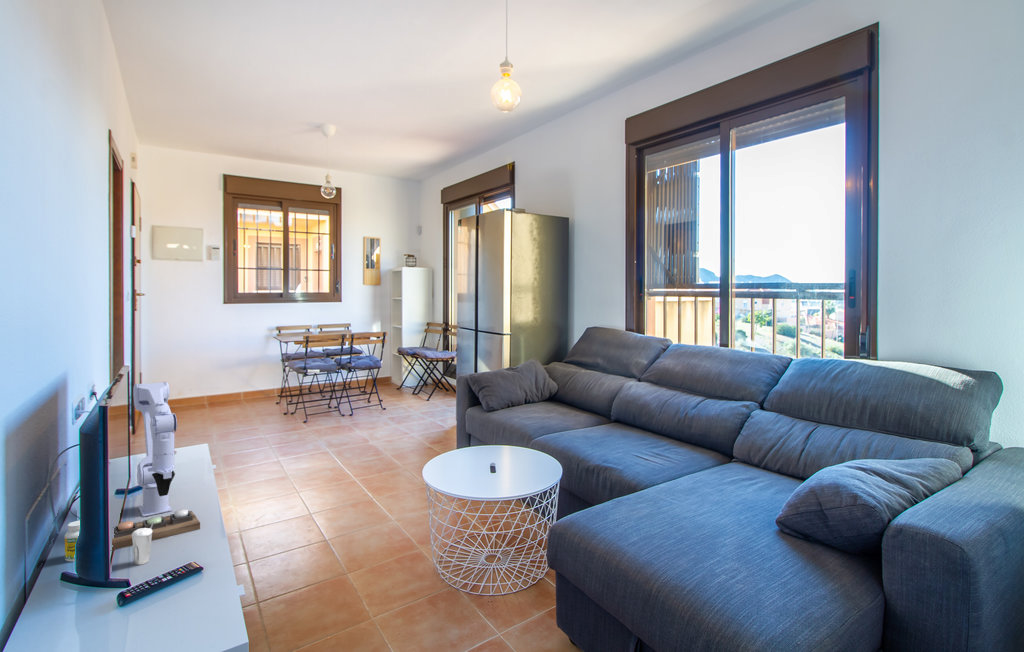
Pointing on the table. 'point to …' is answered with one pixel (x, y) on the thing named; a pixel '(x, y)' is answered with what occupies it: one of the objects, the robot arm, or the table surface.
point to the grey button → (180, 513)
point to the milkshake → (142, 545)
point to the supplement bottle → (71, 540)
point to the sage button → (153, 520)
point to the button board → (157, 529)
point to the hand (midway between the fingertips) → (163, 495)
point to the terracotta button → (125, 525)
